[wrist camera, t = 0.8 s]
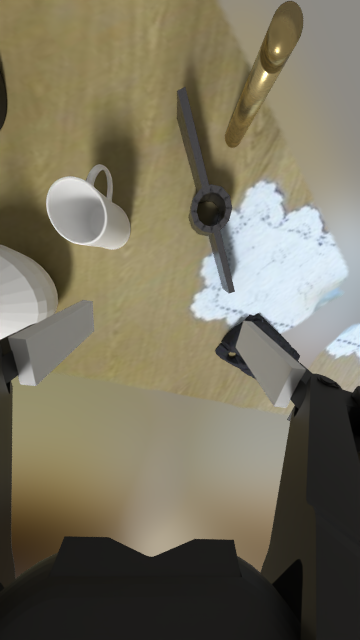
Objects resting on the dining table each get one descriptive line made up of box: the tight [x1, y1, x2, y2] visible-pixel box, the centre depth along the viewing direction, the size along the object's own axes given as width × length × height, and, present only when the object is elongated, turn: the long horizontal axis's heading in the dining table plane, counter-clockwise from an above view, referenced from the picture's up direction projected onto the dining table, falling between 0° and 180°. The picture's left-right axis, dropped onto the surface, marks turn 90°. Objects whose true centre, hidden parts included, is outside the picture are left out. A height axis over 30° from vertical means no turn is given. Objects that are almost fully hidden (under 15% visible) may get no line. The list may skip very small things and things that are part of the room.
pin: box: [225, 1, 303, 148], centre depth 22 cm, size 3×3×15 cm
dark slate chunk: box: [215, 314, 300, 379], centre depth 44 cm, size 15×22×5 cm
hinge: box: [177, 87, 235, 293], centre depth 31 cm, size 31×7×5 cm, turn 20°
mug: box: [46, 164, 130, 249], centre depth 28 cm, size 12×8×12 cm
